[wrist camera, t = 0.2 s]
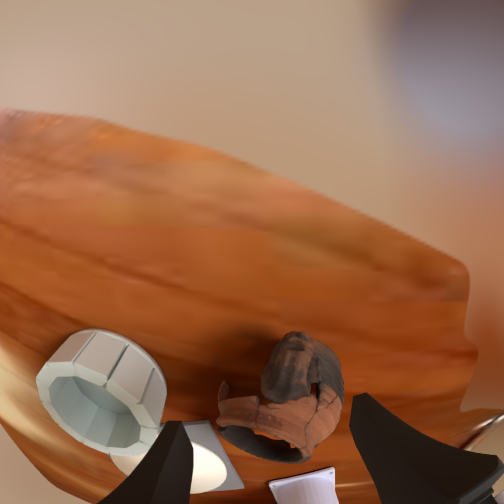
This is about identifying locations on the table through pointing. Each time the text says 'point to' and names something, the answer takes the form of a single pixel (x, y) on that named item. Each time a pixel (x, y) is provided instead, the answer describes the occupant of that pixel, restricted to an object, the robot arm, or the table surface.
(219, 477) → the lid
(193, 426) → the mat
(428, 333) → the table surface
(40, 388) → the bowl
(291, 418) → the dark brown rounded loops
